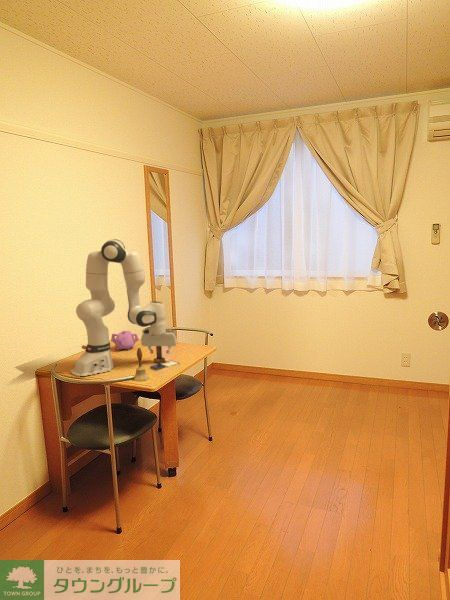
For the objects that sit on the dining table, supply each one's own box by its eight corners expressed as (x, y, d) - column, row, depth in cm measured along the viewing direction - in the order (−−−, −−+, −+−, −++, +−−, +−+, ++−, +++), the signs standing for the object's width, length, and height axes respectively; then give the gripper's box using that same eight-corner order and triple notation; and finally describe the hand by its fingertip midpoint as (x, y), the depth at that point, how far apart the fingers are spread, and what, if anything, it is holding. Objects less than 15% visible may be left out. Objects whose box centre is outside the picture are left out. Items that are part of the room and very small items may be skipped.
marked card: (168, 367, 223) (168, 366, 223) (159, 364, 229) (159, 364, 228) (180, 363, 230) (180, 363, 230) (171, 361, 235) (171, 360, 235)
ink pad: (156, 370, 219) (156, 368, 219) (150, 368, 223) (149, 366, 222) (165, 367, 223) (165, 365, 223) (159, 365, 227) (159, 363, 227)
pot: (116, 344, 272) (115, 327, 270) (142, 344, 271) (141, 327, 269) (107, 352, 254) (106, 334, 252) (135, 352, 253) (134, 334, 252)
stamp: (158, 364, 230) (157, 348, 228) (153, 362, 233) (153, 346, 231) (165, 361, 234) (164, 346, 232) (160, 360, 236) (160, 344, 235)
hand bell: (143, 382, 202) (142, 350, 200) (129, 380, 205) (127, 349, 203) (152, 376, 210) (151, 346, 207) (138, 374, 213) (137, 345, 210)
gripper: (177, 328, 231) (179, 351, 233) (143, 328, 234) (144, 351, 236) (174, 330, 225) (176, 355, 227) (139, 330, 228) (141, 354, 230)
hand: (159, 353), depth 232 cm, fingers open, 8 cm apart
